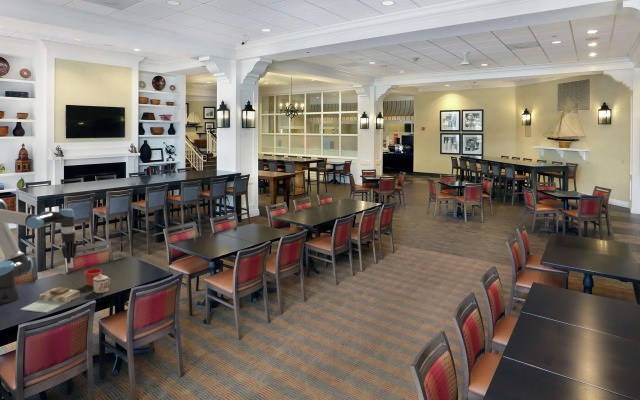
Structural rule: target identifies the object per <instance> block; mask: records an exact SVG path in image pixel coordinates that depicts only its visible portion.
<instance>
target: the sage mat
mask: <svg viewBox="0 0 640 400" xmlns="http://www.w3.org/2000/svg"><path fill="white" fill-rule="evenodd" d="M64 305H66V304H65V303H63V302H54V301H45V300H40V299H39V300H37V301H35V302H33V303H30V304H28V305H25V306H23V307H22V308H19V309H20V311H26V312H34V313H35V312H36V313H42V314H43V313H44V314H48V313H50V312H52V311H54V310H56V309H57V308H60V307H62V306H64Z"/></svg>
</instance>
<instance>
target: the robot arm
mask: <svg viewBox="0 0 640 400" xmlns="http://www.w3.org/2000/svg"><path fill="white" fill-rule="evenodd" d="M7 208H8V206H7V203H6V202H5V200H3V199H1V198H0V249H1V251H2V254H3V255H4V259H3V260H2V261H0V304H1V305H2V304H9V303H11V302H14V301H18V300H19V299H20V298H21V292H20V291H19V288H18V287H17V283H16V279H18V278H21V277H22V276H25V275H28V273H30V272H32V270H33V268H34V261H33V259H32V258H31V257H29V256H28V255H26V254H25V252H22V251H21V250H20V248H19V246H18V244H17V241H16V239H15V237H14V235H13V233H12V231H11V230H12V229H10V227H9V224H13V225H14V224H15V225H19V226H26V227H28V228H29V229H31V230H36V229H40V228H42V227H45V226H48V225H51V224H60V232H61V235H60V236H61V239H62V244H59V247H60V249H61V253H62V255H63V256H62V257H63V258H64V259H66V264H67V268H69V269H72V268H74V258H75V257H76V255H77V249H78V247H77V246H78V242H79V241H78V240H76V239H75V238H76V232H75V230H76V229H75V215H74V210H73V208H71V207H70V208H69V207H68V208H60V209H59V211H49V210H47V211H42V212H41V213H40V214H32V213H27V212H21V211H15V210H8V209H7Z"/></svg>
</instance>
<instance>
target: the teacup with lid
mask: <svg viewBox="0 0 640 400" xmlns="http://www.w3.org/2000/svg"><path fill="white" fill-rule="evenodd" d="M93 283H94V286H93V293H96V294H103V293H106V292H108V291H109V285H110V284H111V278H110V277H108V276H107V275H103V273H102V274H99V276H97V277H95V278H93Z"/></svg>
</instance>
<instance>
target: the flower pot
mask: <svg viewBox="0 0 640 400" xmlns="http://www.w3.org/2000/svg"><path fill="white" fill-rule="evenodd" d="M99 274H102V275H103V270H102V269H101V268H91V269H88V270H85V271H84V276H85V280H86V283H87V285H88V286H89V287H94V283H93V278H95V277H97V276H99Z"/></svg>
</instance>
